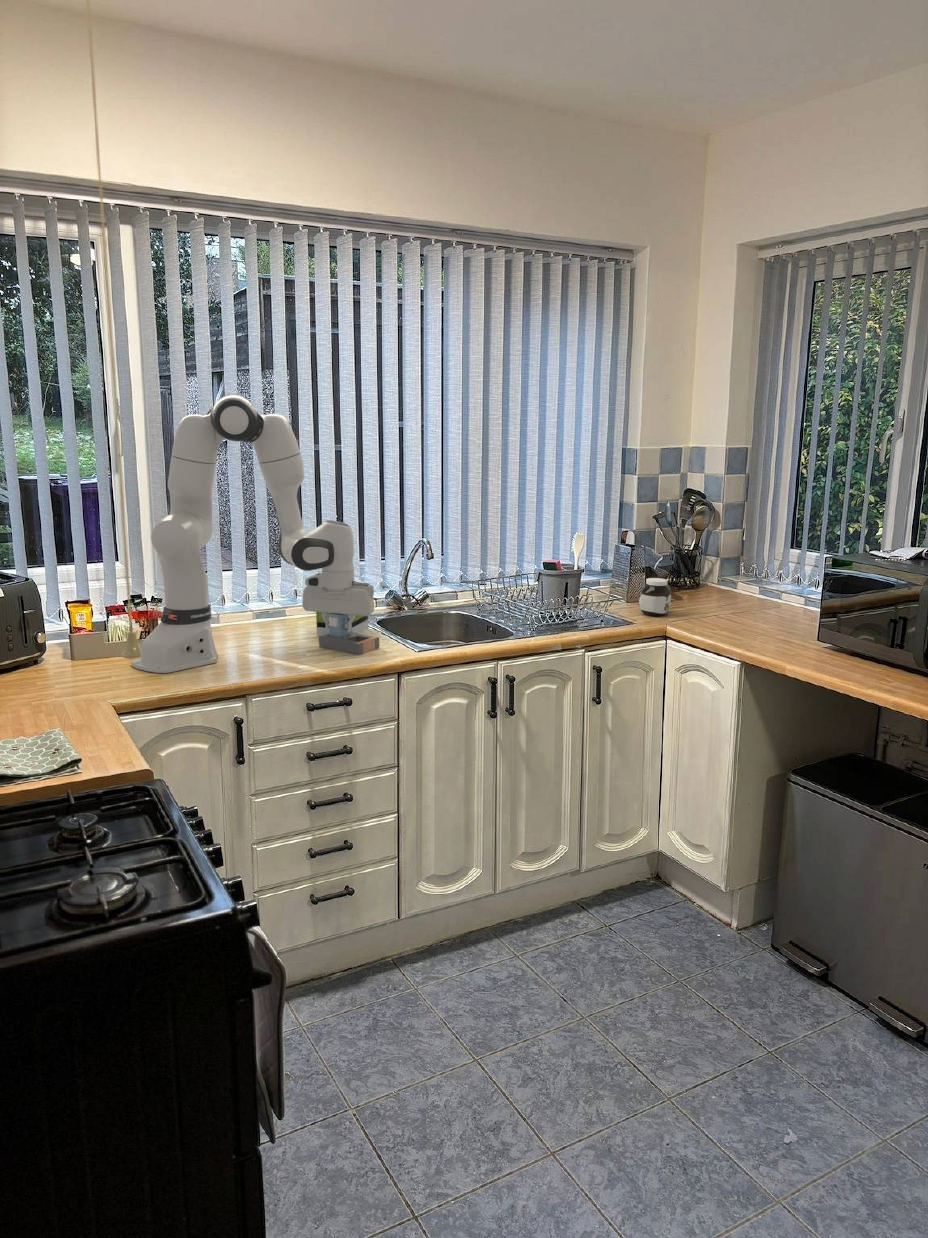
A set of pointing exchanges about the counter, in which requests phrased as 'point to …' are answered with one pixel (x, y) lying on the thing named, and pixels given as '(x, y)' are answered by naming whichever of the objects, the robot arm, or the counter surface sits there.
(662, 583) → the spread jar
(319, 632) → the tea box
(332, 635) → the plug peg
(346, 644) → the socket block
